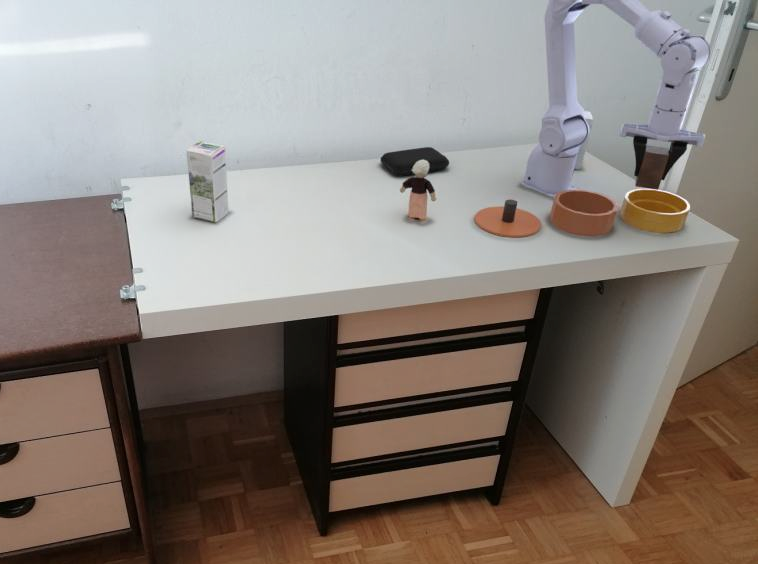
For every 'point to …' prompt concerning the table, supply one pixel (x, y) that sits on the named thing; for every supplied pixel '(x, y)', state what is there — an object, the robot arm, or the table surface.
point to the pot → (583, 223)
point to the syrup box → (208, 181)
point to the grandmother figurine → (419, 191)
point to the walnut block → (652, 167)
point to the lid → (507, 220)
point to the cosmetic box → (583, 146)
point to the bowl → (654, 210)
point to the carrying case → (413, 160)
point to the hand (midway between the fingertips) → (649, 176)
